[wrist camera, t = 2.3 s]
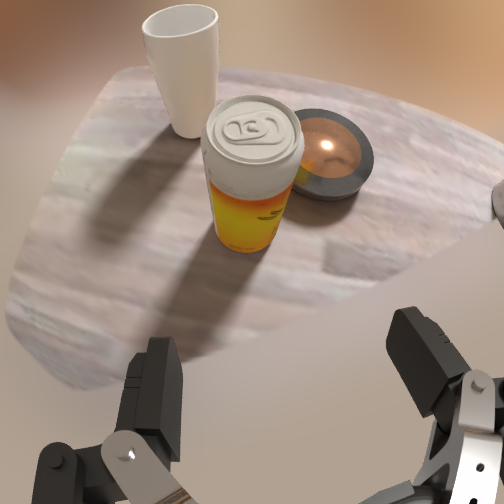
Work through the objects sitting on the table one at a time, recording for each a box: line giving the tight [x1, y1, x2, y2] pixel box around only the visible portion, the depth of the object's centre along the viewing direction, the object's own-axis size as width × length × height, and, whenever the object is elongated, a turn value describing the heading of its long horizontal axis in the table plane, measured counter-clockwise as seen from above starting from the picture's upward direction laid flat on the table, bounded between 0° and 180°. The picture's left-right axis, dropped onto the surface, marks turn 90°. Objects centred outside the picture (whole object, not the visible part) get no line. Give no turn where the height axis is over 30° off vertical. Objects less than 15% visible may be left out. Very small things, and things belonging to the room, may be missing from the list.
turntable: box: [292, 109, 374, 201], centre depth 31 cm, size 11×11×2 cm
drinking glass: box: [142, 4, 220, 139], centre depth 27 cm, size 7×7×15 cm
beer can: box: [201, 94, 305, 253], centre depth 23 cm, size 6×6×15 cm
